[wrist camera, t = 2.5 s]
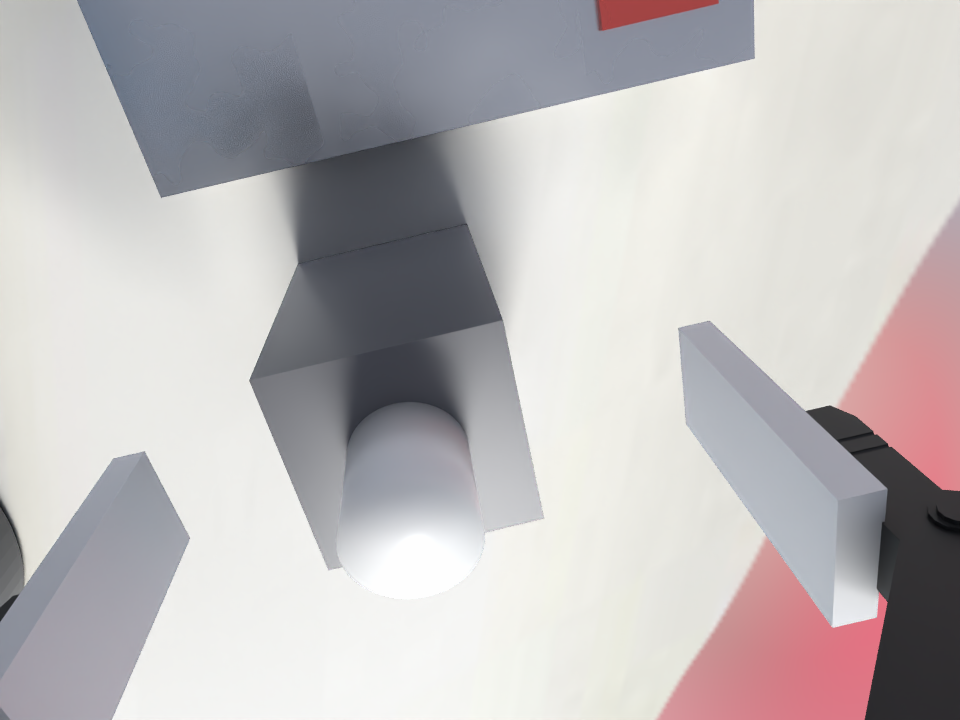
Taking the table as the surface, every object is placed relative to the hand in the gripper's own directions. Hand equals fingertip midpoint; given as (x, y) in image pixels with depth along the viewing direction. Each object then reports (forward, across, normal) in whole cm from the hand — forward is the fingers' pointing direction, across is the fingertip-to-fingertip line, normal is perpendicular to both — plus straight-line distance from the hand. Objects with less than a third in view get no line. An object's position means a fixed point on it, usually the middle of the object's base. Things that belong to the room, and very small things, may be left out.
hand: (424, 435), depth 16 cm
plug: (+7, 0, 0) cm, 7 cm away
